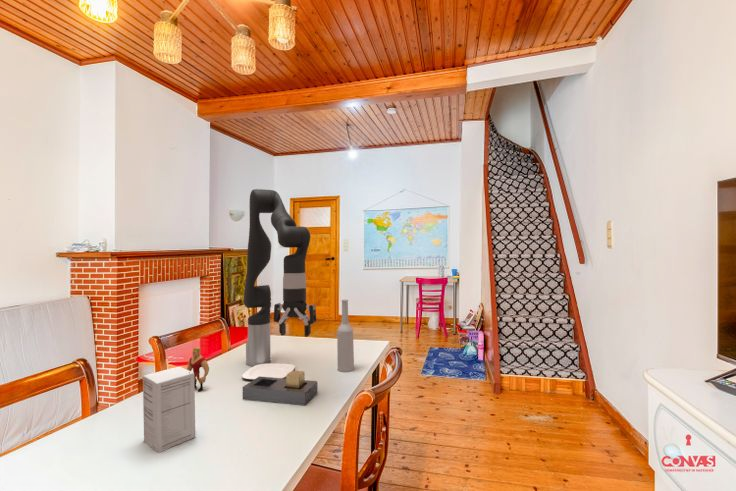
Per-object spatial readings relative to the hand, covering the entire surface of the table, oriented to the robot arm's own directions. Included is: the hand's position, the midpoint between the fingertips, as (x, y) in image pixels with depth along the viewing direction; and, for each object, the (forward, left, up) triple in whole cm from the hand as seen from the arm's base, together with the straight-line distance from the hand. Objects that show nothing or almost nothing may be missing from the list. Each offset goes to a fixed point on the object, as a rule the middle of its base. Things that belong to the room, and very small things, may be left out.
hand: (295, 335), depth 118 cm
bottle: (+8, +29, -20) cm, 36 cm away
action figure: (-37, -2, -20) cm, 42 cm away
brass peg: (0, -1, -20) cm, 20 cm away
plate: (-20, +18, -21) cm, 34 cm away
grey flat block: (-5, -1, -20) cm, 21 cm away
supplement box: (-20, -32, -20) cm, 43 cm away
